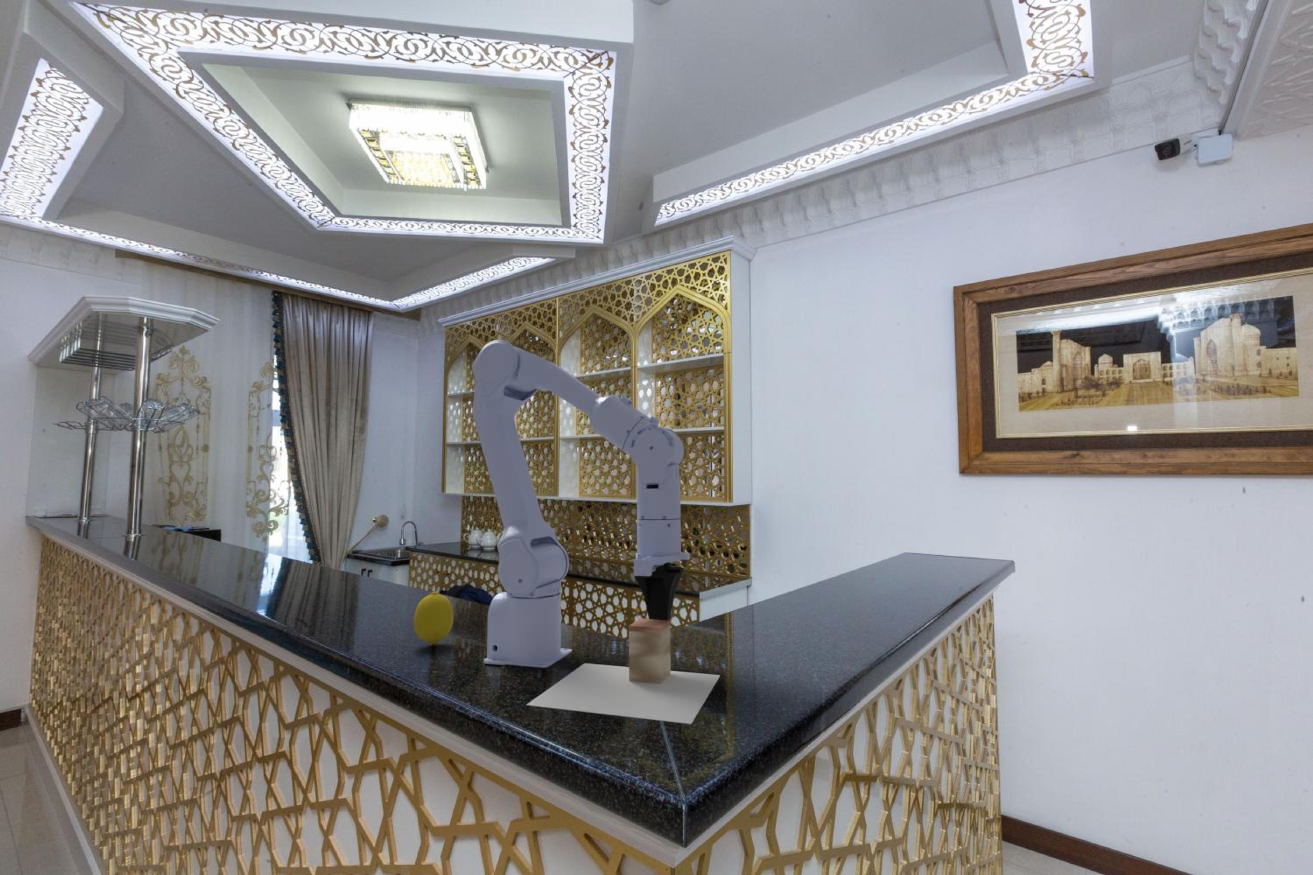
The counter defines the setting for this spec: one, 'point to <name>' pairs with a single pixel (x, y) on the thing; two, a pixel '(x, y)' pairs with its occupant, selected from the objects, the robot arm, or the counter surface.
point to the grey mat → (629, 694)
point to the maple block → (649, 651)
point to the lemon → (433, 618)
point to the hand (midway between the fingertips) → (659, 625)
